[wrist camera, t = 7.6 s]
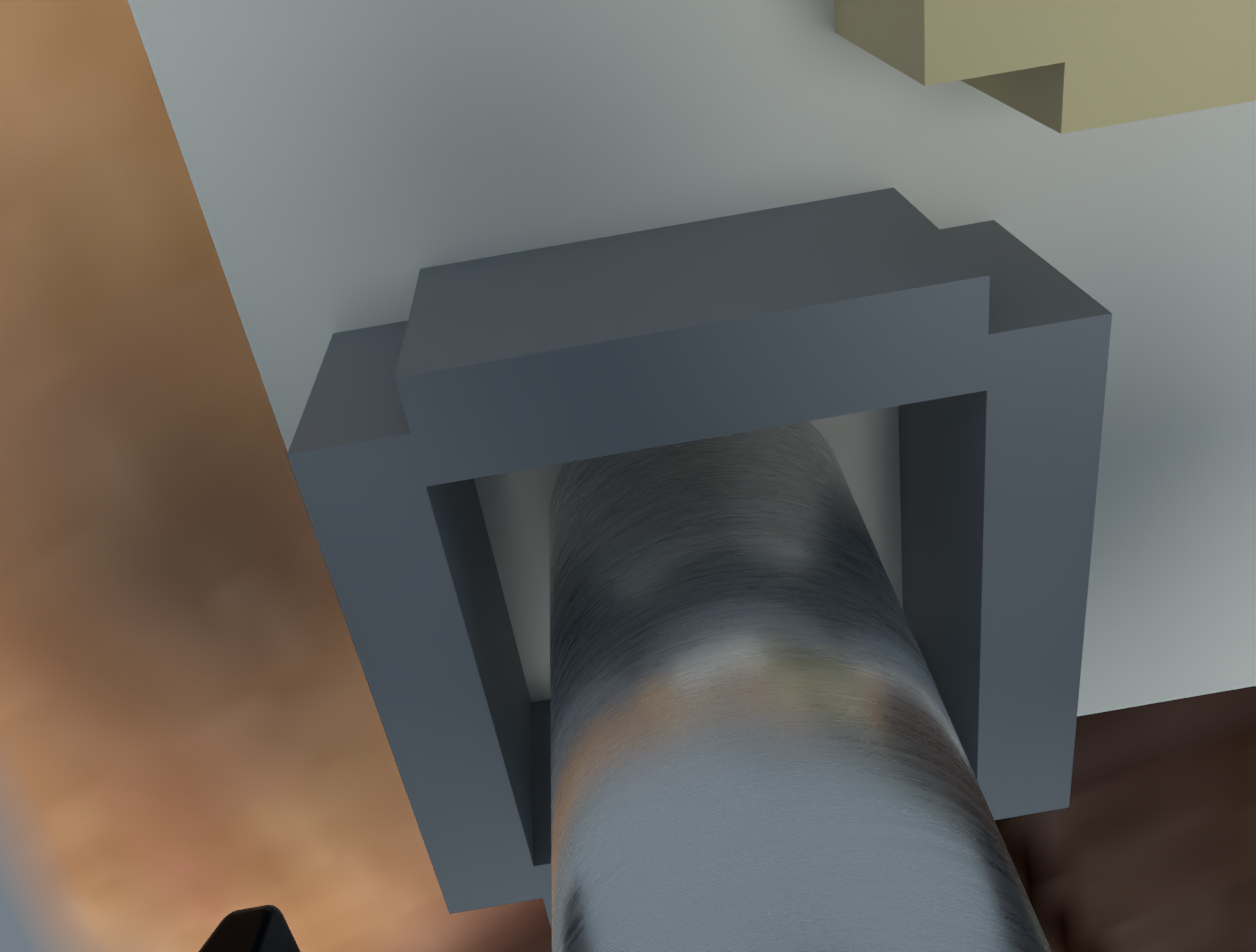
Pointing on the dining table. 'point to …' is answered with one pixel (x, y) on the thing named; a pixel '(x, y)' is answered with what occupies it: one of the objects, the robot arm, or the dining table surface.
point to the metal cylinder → (752, 721)
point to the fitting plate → (747, 331)
